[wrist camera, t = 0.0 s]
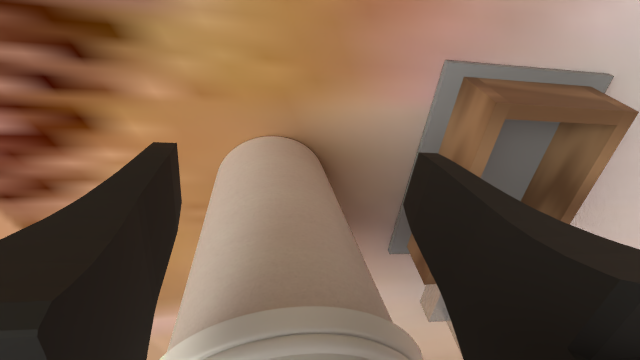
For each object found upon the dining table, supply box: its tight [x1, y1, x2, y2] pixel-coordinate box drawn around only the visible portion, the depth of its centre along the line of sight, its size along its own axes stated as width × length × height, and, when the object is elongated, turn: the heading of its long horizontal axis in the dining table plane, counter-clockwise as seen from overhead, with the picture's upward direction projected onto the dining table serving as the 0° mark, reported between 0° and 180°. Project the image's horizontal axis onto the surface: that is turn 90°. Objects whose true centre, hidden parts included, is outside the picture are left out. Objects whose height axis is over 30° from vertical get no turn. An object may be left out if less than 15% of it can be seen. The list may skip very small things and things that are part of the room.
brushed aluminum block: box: [420, 284, 462, 354], centre depth 30 cm, size 4×4×7 cm
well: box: [407, 77, 639, 285], centre depth 24 cm, size 13×8×4 cm, turn 173°
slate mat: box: [388, 60, 614, 254], centre depth 26 cm, size 14×10×1 cm
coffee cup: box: [159, 136, 423, 360], centre depth 18 cm, size 10×10×15 cm
